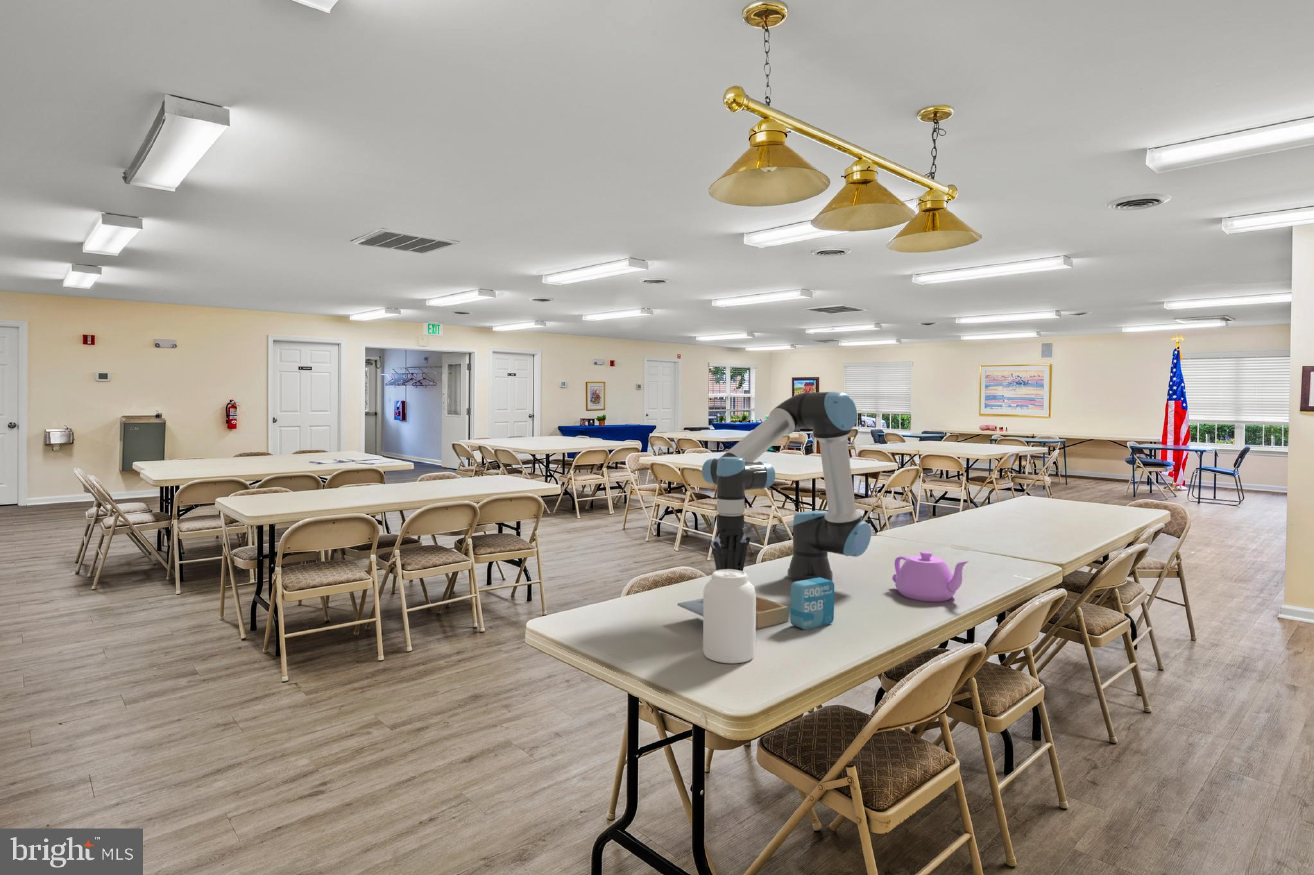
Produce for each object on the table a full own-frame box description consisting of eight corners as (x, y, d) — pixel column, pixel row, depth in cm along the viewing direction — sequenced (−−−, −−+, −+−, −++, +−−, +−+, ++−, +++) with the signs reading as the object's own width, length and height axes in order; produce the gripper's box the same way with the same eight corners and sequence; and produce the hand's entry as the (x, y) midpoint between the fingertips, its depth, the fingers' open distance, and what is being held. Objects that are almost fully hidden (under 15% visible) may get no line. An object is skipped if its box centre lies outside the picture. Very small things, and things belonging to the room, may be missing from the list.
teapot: (877, 592, 217) (877, 549, 216) (906, 582, 228) (907, 542, 227) (953, 610, 197) (954, 564, 197) (981, 599, 209) (983, 555, 208)
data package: (801, 630, 180) (801, 586, 179) (789, 626, 184) (790, 582, 183) (834, 623, 186) (834, 580, 185) (822, 618, 190) (823, 576, 189)
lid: (709, 599, 194) (709, 584, 193) (748, 614, 179) (748, 599, 179) (677, 605, 188) (677, 590, 187) (715, 622, 173) (715, 606, 173)
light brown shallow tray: (747, 605, 202) (748, 592, 202) (788, 621, 188) (788, 606, 187) (718, 611, 196) (718, 598, 196) (758, 628, 182) (758, 613, 181)
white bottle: (760, 664, 157) (761, 578, 156) (707, 665, 156) (707, 579, 155) (749, 644, 169) (749, 565, 168) (699, 646, 168) (699, 566, 167)
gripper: (739, 509, 192) (739, 592, 193) (703, 513, 185) (702, 599, 186) (757, 513, 186) (756, 598, 187) (720, 517, 179) (719, 606, 180)
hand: (729, 598), depth 187 cm, fingers closed
